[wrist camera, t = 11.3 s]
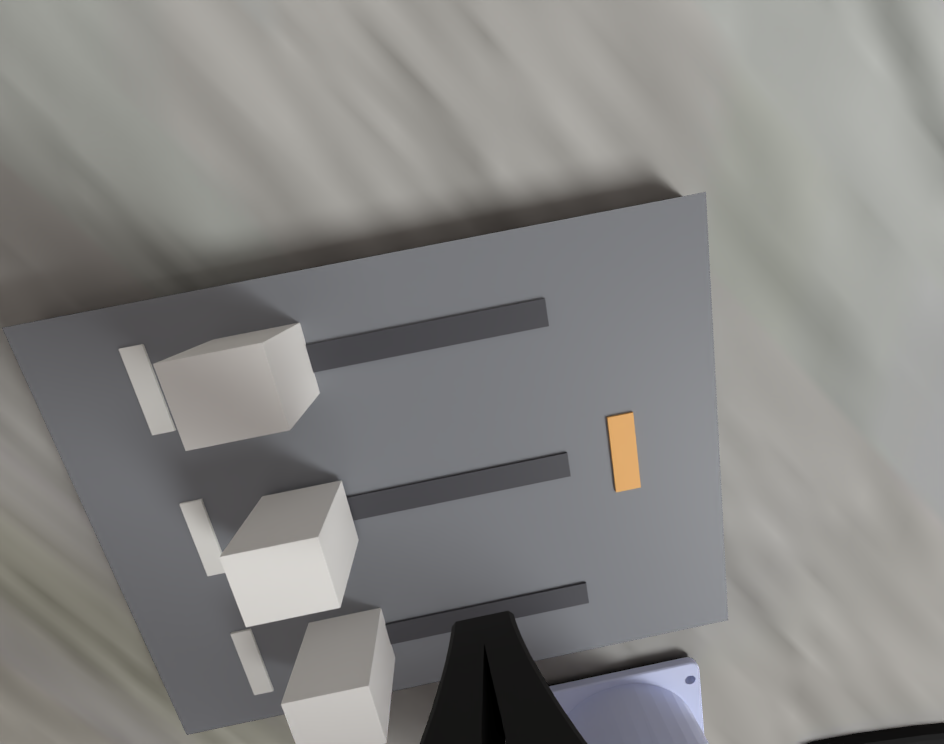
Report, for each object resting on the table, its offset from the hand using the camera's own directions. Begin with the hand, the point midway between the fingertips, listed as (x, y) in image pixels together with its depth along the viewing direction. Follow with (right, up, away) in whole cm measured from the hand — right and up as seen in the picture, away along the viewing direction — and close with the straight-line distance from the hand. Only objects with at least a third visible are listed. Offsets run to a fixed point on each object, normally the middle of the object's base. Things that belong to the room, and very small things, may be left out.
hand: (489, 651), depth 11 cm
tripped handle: (-7, +1, +7) cm, 10 cm away
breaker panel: (-3, +2, +9) cm, 10 cm away
